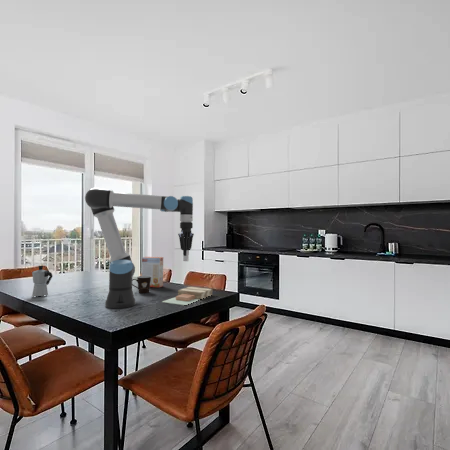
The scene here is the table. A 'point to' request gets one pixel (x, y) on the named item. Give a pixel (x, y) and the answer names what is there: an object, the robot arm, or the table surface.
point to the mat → (179, 301)
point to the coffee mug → (143, 283)
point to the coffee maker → (41, 281)
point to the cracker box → (153, 270)
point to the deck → (196, 292)
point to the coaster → (185, 297)
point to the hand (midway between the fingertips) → (185, 261)
